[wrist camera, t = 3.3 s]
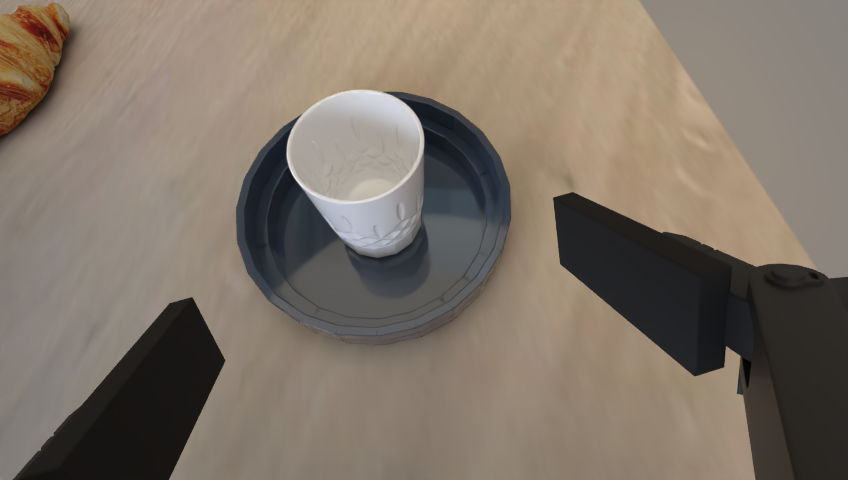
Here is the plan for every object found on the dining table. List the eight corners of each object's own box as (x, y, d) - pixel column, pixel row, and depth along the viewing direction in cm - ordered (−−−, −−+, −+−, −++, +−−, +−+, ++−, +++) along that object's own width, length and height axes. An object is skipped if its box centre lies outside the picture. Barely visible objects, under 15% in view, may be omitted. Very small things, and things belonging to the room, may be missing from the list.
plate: (214, 215, 33) (186, 191, 29) (394, 89, 38) (389, 54, 34) (360, 406, 27) (347, 406, 23) (554, 227, 31) (569, 202, 28)
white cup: (429, 264, 30) (424, 201, 21) (326, 266, 30) (277, 204, 21) (428, 175, 33) (424, 86, 24) (334, 178, 34) (295, 90, 24)
